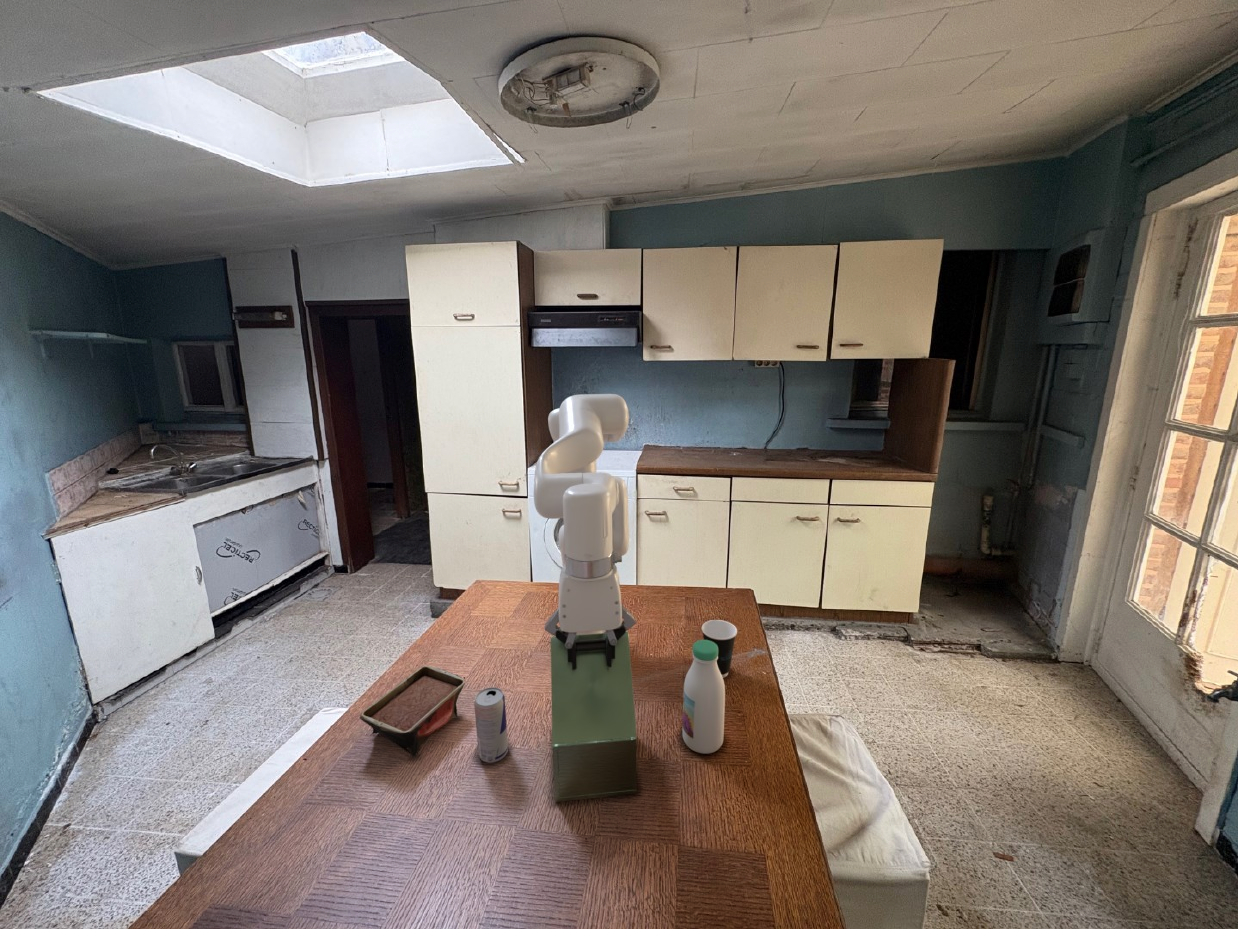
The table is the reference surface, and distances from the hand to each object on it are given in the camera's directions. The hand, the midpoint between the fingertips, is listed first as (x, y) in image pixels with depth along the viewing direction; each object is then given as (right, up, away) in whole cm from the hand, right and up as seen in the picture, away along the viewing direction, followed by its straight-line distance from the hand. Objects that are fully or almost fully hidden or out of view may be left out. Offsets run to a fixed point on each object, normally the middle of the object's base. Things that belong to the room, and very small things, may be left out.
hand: (591, 662), depth 83 cm
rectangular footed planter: (-36, -19, +17) cm, 44 cm away
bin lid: (0, -4, +1) cm, 5 cm away
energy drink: (-19, -21, +10) cm, 30 cm away
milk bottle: (+21, -20, +12) cm, 31 cm away
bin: (0, -21, +8) cm, 22 cm away
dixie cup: (+27, -15, +32) cm, 45 cm away
